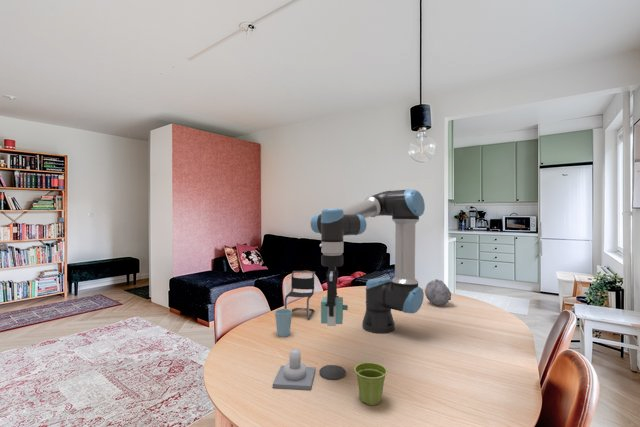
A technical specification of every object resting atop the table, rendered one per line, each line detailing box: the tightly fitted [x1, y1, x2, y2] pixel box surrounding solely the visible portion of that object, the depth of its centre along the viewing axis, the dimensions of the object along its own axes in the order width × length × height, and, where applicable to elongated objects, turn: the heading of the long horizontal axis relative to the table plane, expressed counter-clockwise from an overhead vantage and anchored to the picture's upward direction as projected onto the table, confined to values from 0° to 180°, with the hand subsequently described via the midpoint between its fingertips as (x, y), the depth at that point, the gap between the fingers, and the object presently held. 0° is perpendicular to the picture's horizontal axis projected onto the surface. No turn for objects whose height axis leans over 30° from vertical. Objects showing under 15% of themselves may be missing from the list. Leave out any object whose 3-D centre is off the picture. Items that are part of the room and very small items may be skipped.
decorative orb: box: [424, 278, 452, 306], centre depth 187 cm, size 15×14×15 cm
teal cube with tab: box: [320, 296, 349, 325], centre depth 107 cm, size 9×7×7 cm
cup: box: [274, 308, 293, 338], centre depth 142 cm, size 8×8×10 cm
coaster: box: [318, 364, 347, 381], centre depth 107 cm, size 9×9×1 cm
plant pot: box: [353, 361, 388, 406], centre depth 92 cm, size 9×9×9 cm
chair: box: [284, 270, 316, 320], centre depth 170 cm, size 13×17×22 cm
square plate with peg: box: [272, 348, 316, 391], centre depth 104 cm, size 12×12×9 cm
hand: (332, 321), depth 107 cm, fingers closed on teal cube with tab, 7 cm apart
